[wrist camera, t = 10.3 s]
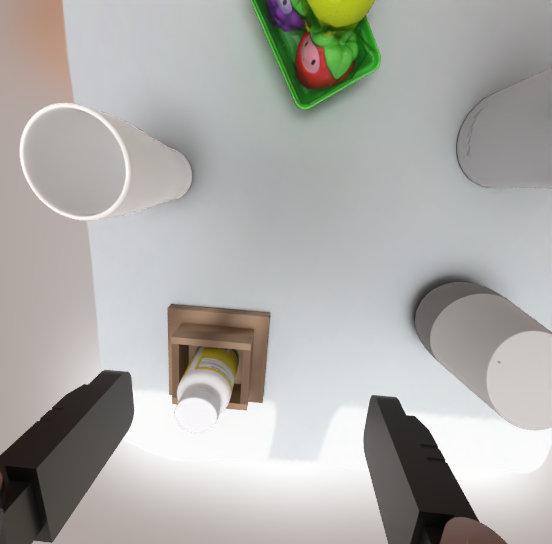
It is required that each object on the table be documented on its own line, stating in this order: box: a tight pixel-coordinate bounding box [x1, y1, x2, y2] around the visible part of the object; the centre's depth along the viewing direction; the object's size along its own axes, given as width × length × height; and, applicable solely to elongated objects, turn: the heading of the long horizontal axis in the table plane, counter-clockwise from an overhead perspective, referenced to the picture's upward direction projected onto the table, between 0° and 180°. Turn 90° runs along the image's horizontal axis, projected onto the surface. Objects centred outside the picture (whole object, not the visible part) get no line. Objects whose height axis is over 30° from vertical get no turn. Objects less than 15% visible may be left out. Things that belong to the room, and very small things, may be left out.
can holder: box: [168, 304, 270, 410], centre depth 35 cm, size 12×12×5 cm
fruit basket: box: [250, 0, 381, 110], centre depth 23 cm, size 11×9×11 cm
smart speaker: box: [415, 282, 552, 430], centre depth 29 cm, size 10×9×14 cm
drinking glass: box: [20, 103, 192, 221], centre depth 25 cm, size 7×7×15 cm
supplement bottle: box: [174, 346, 239, 433], centre depth 32 cm, size 5×5×10 cm
